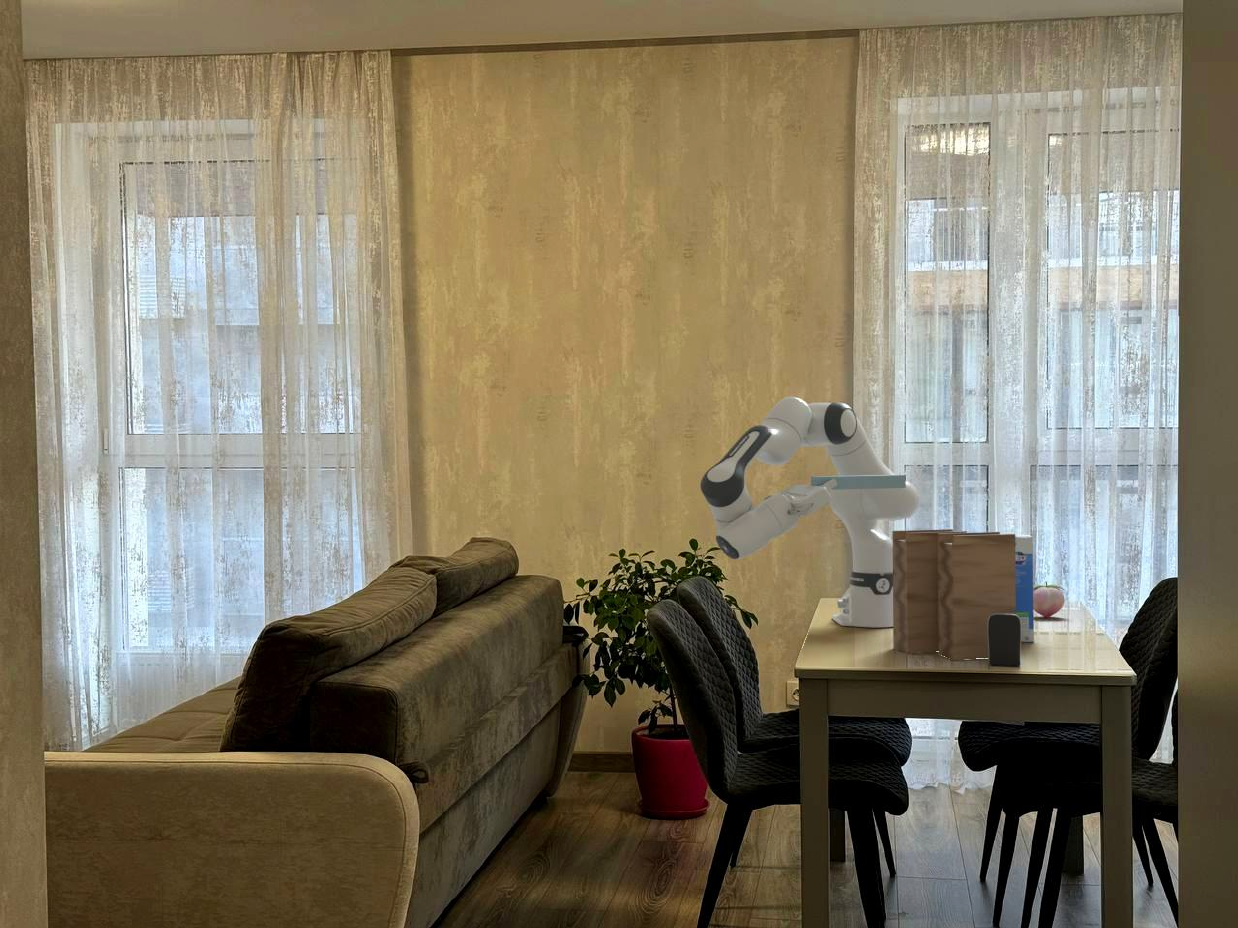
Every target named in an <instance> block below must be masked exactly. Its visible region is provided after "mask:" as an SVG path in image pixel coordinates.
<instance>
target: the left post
mask: <svg viewBox="0 0 1238 928" xmlns="http://www.w3.org/2000/svg"><path fill="white" fill-rule="evenodd" d="M938 533H968V532H967V531H966V530H962V531H961V530H960V531H959V530H957V531H954V529H952V528H945V529H941V528H940V529H916V530H915V529H911V530H910V529H908V530H892V541H893V627H892V628H893V629H892V631H893V634H892V638H893V639H892V640H893V641H892V643H893V644H892V645H893V649H894V650H896V649H898V650H897V651H899V650H900V652H902V651H903V652H902V653H904V652H906V653H905V654H907V653H915V654H922V653H921V652H935V653H937V652H936V651H939V637H938Z"/></svg>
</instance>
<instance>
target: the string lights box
mask: <svg viewBox="0 0 1238 928" xmlns="http://www.w3.org/2000/svg"><path fill="white" fill-rule="evenodd" d="M1033 538H1034V537H1033V536H1032V535H1030V534H1015V563H1016V615H1017V616H1018V617H1019V618H1020V621H1021V643H1034V642H1035V628H1034V627H1035V626H1034V625H1035V624H1034V622H1035V621H1034V620H1035V619H1034V616H1035V615H1034V609H1033V590H1034V589H1033V587H1034V559H1033V558H1034V549H1033V547H1034V546H1033V545H1034V542H1033V541H1034V539H1033Z"/></svg>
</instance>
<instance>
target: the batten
mask: <svg viewBox="0 0 1238 928" xmlns="http://www.w3.org/2000/svg"><path fill="white" fill-rule="evenodd" d="M906 477H907V476H906V474H895V475H861V476H840V475H825V476H824V475H823V476H822V475H821V476H820V475H818V476H815V475H814V476H810V484H811V486H821V485H823V484H825V483H826V481H828V480H830V479H835V480H836V482H837V486H835V487H834V488H832V489H831V490H839V489H884V488H906V481H907V480H906V479H907V478H906ZM831 490H830V491H831Z"/></svg>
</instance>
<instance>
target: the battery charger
mask: <svg viewBox="0 0 1238 928" xmlns="http://www.w3.org/2000/svg"><path fill="white" fill-rule="evenodd" d="M1021 646H1022V642H1021V621H1020V618H1019V617H1018V616H1017V615H1016V614H1012V613H993V614H991V615H990V616H989V618H988V647H989V659H988V665H990V666H994V665H996V666H995V667H1020V666H1021V663H1022V662H1021V651H1022V649H1021V648H1022V647H1021Z"/></svg>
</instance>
